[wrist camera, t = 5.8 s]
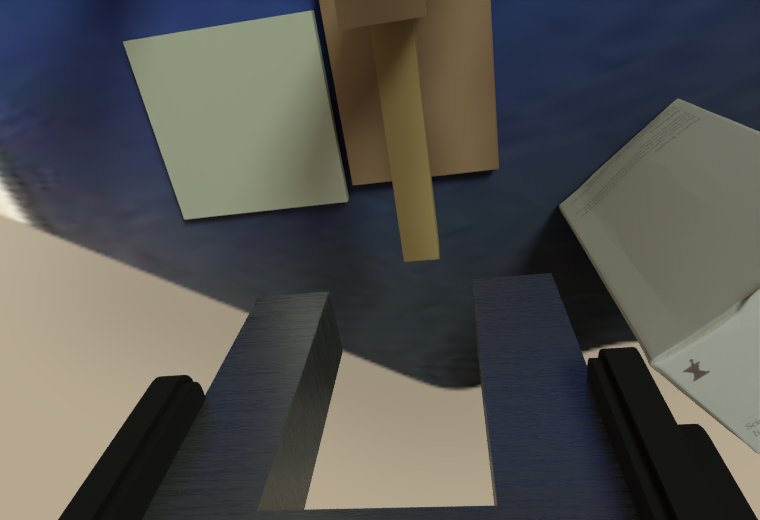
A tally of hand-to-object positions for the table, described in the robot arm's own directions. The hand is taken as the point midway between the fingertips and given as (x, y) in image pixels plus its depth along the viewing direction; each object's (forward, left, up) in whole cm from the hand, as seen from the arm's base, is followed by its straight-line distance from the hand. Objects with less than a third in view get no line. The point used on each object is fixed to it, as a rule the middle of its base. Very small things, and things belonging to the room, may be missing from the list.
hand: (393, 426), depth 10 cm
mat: (+10, -1, -22) cm, 24 cm away
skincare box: (-12, +5, -22) cm, 25 cm away
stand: (0, -3, -22) cm, 22 cm away
